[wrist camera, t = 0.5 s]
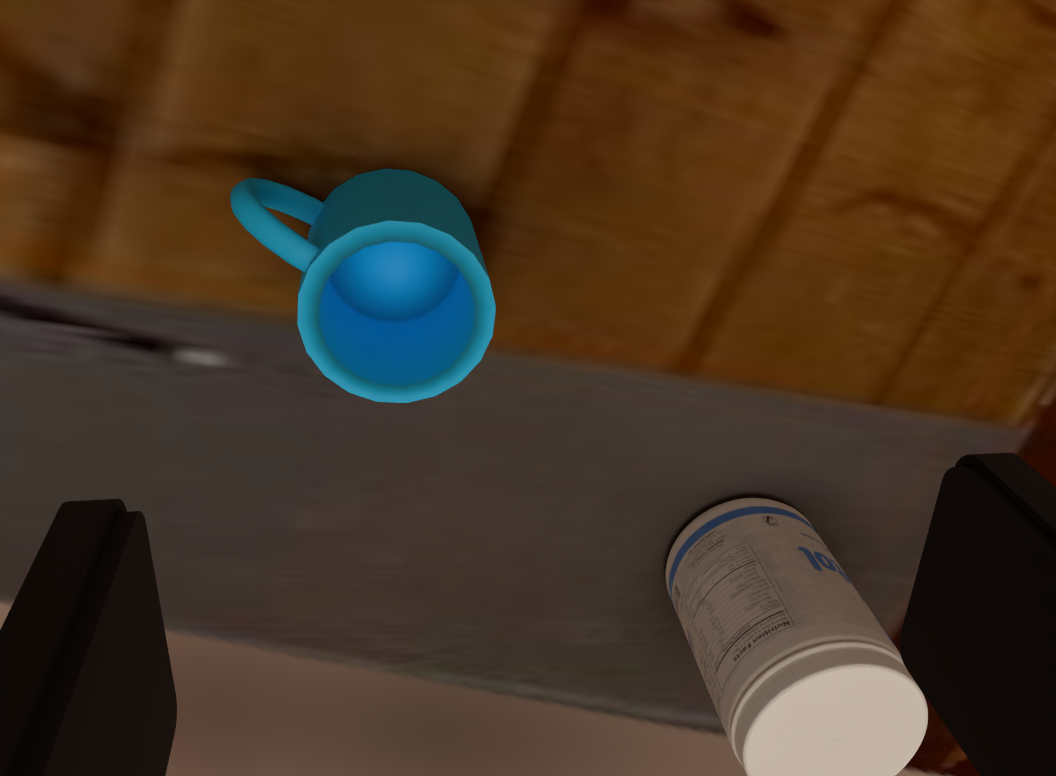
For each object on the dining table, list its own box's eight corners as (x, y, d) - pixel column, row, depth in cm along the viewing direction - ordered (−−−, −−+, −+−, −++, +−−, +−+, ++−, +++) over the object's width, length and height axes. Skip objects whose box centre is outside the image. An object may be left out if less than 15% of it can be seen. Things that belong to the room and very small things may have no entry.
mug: (508, 224, 48) (533, 283, 40) (421, 355, 50) (430, 433, 43) (285, 88, 43) (269, 127, 36) (202, 239, 46) (171, 304, 39)
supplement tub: (842, 536, 60) (975, 715, 47) (739, 640, 62) (837, 836, 49) (732, 462, 56) (843, 634, 43) (627, 576, 59) (701, 770, 46)
